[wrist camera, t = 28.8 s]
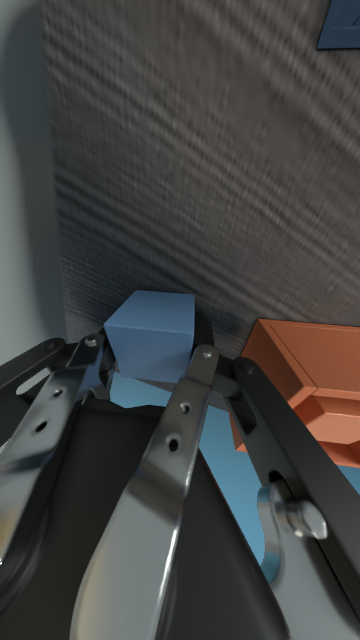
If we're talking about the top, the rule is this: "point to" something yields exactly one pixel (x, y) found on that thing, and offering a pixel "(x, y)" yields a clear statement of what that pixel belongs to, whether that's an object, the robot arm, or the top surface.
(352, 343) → the terracotta bin
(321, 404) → the terracotta block
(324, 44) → the blue bin
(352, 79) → the top surface
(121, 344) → the blue block
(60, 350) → the robot arm
